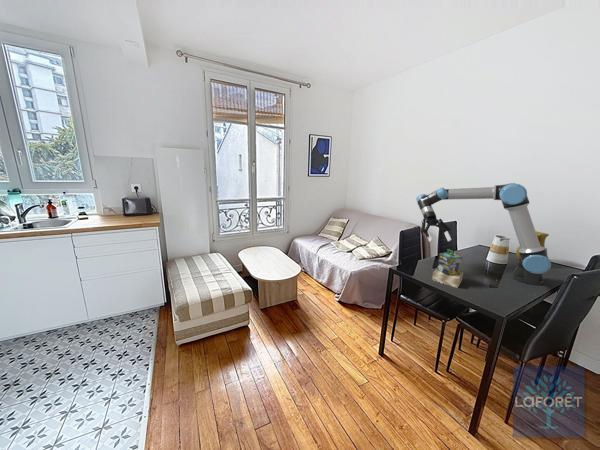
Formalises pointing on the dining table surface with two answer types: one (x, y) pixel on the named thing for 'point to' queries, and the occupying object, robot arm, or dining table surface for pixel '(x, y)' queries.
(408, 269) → the dining table surface
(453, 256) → the chalk box
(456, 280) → the birch block
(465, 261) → the dining table surface
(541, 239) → the pitcher
